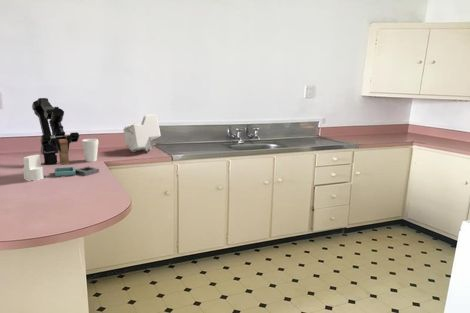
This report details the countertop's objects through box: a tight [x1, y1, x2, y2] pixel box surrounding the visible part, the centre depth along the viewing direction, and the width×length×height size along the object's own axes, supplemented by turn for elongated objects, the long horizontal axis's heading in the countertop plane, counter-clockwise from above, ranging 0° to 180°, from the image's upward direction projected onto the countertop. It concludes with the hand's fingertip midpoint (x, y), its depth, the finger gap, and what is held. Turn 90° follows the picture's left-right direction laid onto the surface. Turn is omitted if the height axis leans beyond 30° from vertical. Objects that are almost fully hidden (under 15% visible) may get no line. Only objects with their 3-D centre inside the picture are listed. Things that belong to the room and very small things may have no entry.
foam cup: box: [81, 138, 99, 163], centre depth 239 cm, size 10×9×13 cm
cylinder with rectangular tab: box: [22, 153, 44, 181], centre depth 198 cm, size 9×9×12 cm
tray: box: [54, 166, 76, 178], centre depth 209 cm, size 10×10×2 cm
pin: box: [58, 139, 70, 165], centre depth 206 cm, size 4×4×13 cm
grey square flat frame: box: [75, 166, 100, 177], centre depth 213 cm, size 9×9×2 cm
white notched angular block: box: [123, 113, 162, 153], centre depth 267 cm, size 20×16×25 cm
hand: (64, 151), depth 205 cm, fingers closed on pin, 4 cm apart
